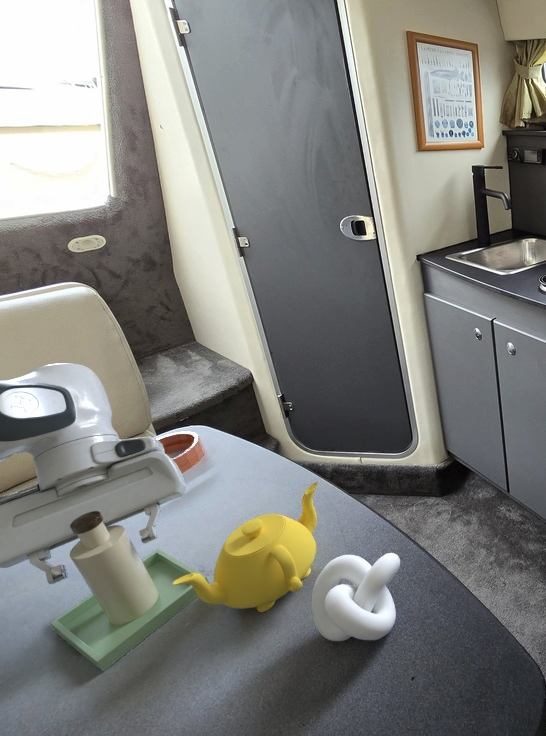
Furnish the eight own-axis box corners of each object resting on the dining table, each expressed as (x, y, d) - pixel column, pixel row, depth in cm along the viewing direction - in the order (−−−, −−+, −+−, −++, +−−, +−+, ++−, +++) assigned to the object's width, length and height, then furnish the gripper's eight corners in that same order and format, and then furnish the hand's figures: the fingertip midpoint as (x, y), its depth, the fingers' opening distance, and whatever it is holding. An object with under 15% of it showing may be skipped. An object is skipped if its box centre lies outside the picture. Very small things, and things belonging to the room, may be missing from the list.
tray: (56, 632, 70) (49, 623, 69) (163, 557, 81) (158, 548, 80) (103, 672, 65) (96, 662, 64) (211, 586, 76) (206, 576, 75)
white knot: (420, 632, 68) (408, 586, 65) (323, 685, 62) (304, 638, 59) (402, 570, 77) (391, 528, 74) (316, 612, 71) (299, 568, 68)
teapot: (234, 670, 64) (204, 610, 60) (178, 619, 71) (148, 562, 67) (365, 551, 81) (349, 497, 76) (310, 519, 87) (292, 468, 83)
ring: (123, 480, 99) (113, 460, 97) (187, 445, 108) (179, 426, 107) (154, 496, 94) (144, 476, 92) (218, 458, 104) (211, 438, 102)
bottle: (101, 616, 72) (47, 528, 65) (147, 583, 76) (100, 498, 70) (121, 631, 69) (67, 542, 63) (167, 596, 74) (121, 510, 68)
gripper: (-38, 502, 63) (-18, 609, 60) (165, 432, 76) (191, 517, 72) (-12, 509, 68) (7, 608, 65) (175, 442, 80) (200, 522, 77)
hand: (106, 559), depth 69 cm, fingers open, 8 cm apart
